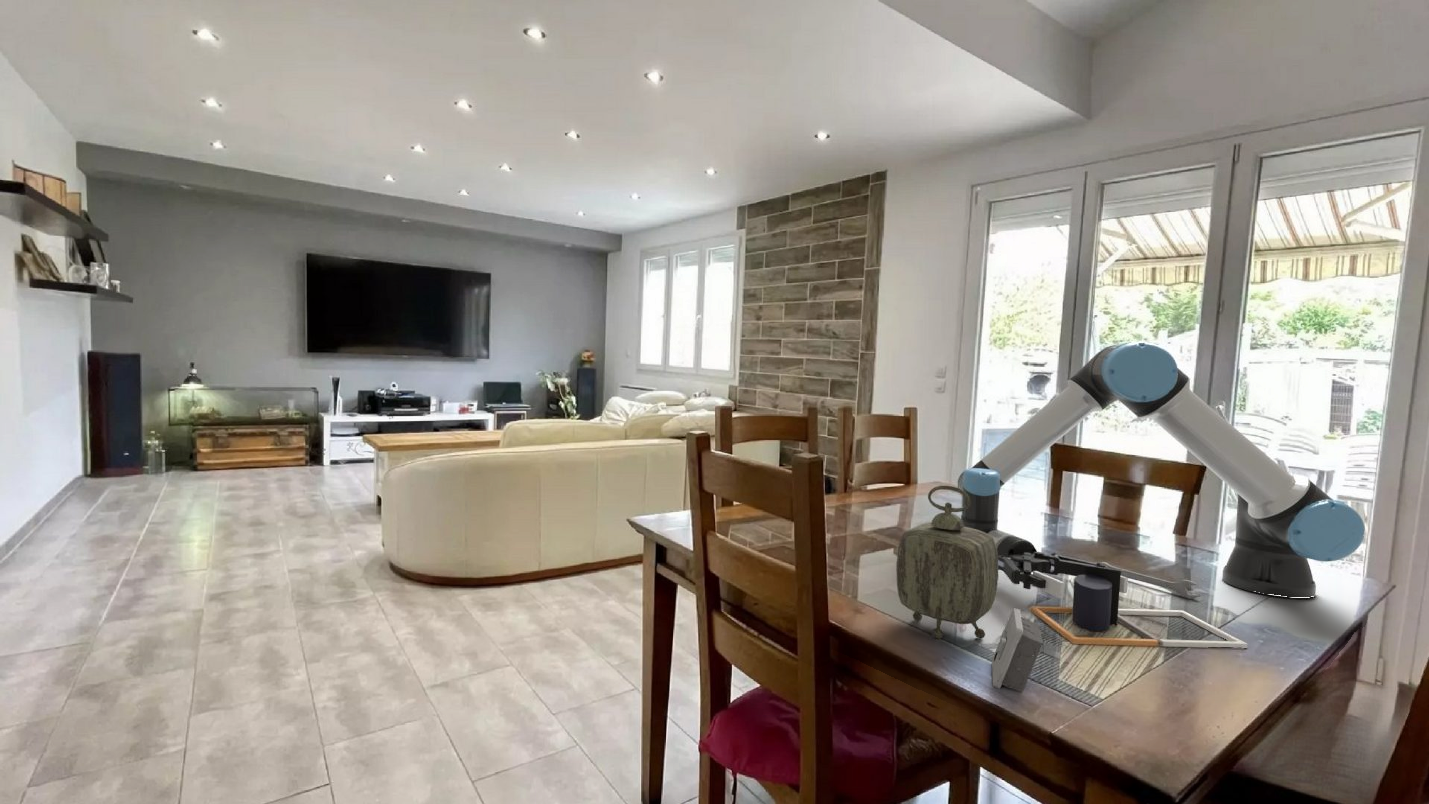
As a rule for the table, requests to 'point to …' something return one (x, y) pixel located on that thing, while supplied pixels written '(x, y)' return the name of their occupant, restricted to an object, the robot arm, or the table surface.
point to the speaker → (1096, 598)
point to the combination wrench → (1159, 582)
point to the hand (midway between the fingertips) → (1094, 588)
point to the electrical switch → (1016, 652)
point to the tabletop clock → (947, 569)
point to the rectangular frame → (1140, 630)
